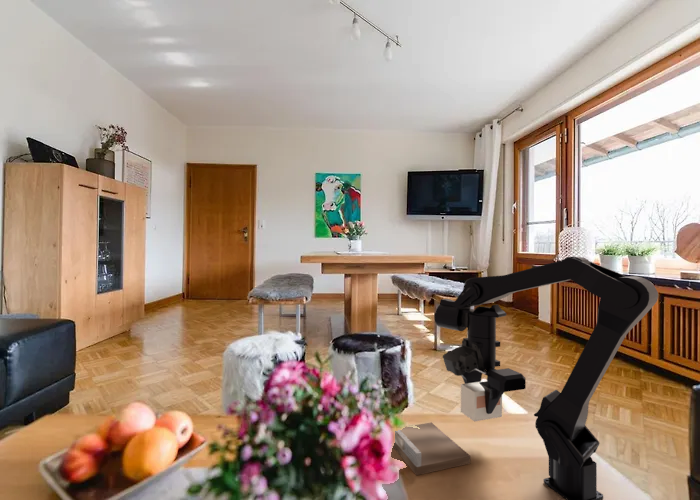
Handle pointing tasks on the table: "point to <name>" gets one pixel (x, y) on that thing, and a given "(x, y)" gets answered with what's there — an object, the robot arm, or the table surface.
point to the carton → (477, 402)
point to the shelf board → (428, 449)
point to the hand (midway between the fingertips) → (481, 408)
